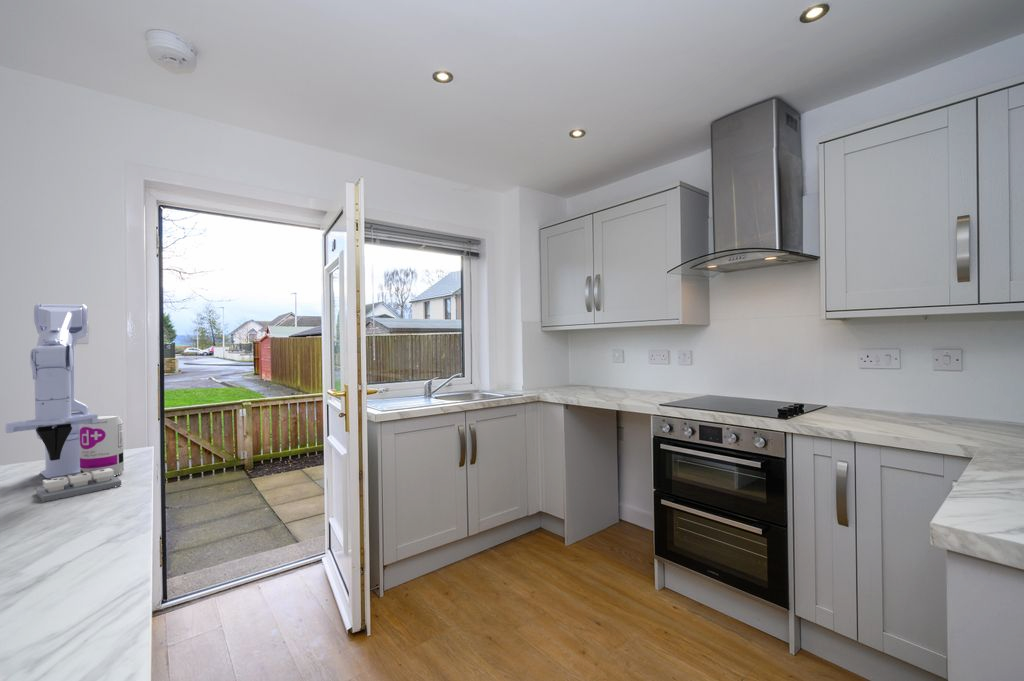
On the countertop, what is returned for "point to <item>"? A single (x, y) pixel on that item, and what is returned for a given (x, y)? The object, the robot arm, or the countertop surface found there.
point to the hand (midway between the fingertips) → (54, 459)
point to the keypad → (77, 489)
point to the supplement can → (102, 444)
